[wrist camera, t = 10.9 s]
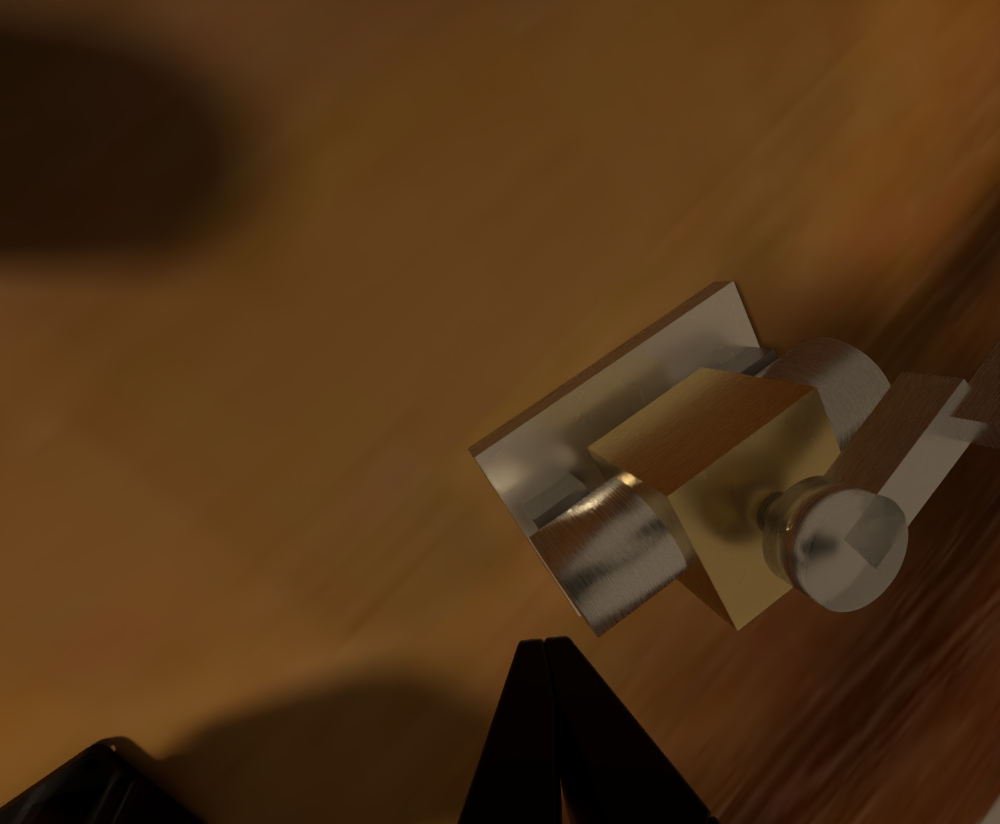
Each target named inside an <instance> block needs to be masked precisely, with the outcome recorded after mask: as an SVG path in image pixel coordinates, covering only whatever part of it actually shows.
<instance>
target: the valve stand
mask: <svg viewBox="0 0 1000 824" xmlns="http://www.w3.org/2000/svg"><path fill="white" fill-rule="evenodd" d="M890 387H891V386H890V384H889V382H888V380H887V378H886V376H885V375H884V373H883V372H882V370H881V369H880V368H879V367H878V366H877V365H876V364H875V363H874V362H873V361H872V360H871V359H870V358H869V357H868V356H867V355H866V354H864V353H863V352H861V351H860V350H859V349H857V348H855V347H854V346H852V345H850V344H848V343H846V342H843V341H840V340H838V339H834V338H830V337H812V338H808V339H806V340H804V341H802V342H801V343H799V344H798V345H797V346H795V347H794V348H792V349H791V350H790V351H788V352H787V353H785V354H784V355H783V356H781V357H780V358H778V359H777V356H776V354H775V351H774V349H768V348H760V346H759V344H758V341H757V339H756V336H755V334H754V331H753V329H752V326H751V324H750V321H749V319H748V316H747V314H746V311H745V309H744V306H743V304H742V301H741V298H740V296H739V293H738V291H737V288H736V286H735V283H734V281H725V282H714V283H712V284H711V285H709V286H708V287H706V288H705V289H703V290H702V291H700V292H699V293H698V294H696V295H695V296H693V297H692V298H690V299H689V300H687V301H686V302H684V303H683V304H681V305H680V306H678V307H677V308H675V309H674V310H672V311H671V312H669V313H668V314H667V315H665V316H664V317H662V318H661V319H659V320H658V321H656V322H655V323H653V324H652V325H650V326H649V327H647V328H646V329H644V330H643V331H641V332H640V333H639V334H637V335H636V336H634V337H633V338H631V339H630V340H628V341H627V342H625V343H624V344H622V345H621V346H619V347H618V348H616V349H615V350H613V351H612V352H610V353H609V354H608V355H606V356H605V357H603V358H602V359H600V360H599V361H597V362H596V363H594V364H593V365H591V366H590V367H588V368H587V369H585V370H584V371H582V372H581V373H580V374H578V375H577V376H575V377H574V378H572V379H571V380H569V381H568V382H566V383H565V384H563V385H562V386H560V387H559V388H557V389H556V390H554V391H553V392H551V393H550V394H549V395H547V396H546V397H544V398H543V399H541V400H540V401H538V402H537V403H535V404H534V405H532V406H531V407H529V408H528V409H526V410H525V411H523V412H522V413H521V414H519V415H518V416H516V417H515V418H513V419H512V420H510V421H509V422H507V423H506V424H504V425H503V426H501V427H500V428H498V429H497V430H495V431H494V432H492V433H491V434H490V435H488V436H487V437H485V438H484V439H482V440H481V441H479V442H478V443H476V444H475V445H473V446H472V447H470V448H469V449H468V450H469V452H470V453H471V455H472V456H473V458H474V459H475V461H476V462H477V464H478V465H479V467H480V468H481V470H482V471H483V473H484V474H485V476H486V477H487V479H488V480H489V482H490V483H491V485H492V486H493V488H494V489H495V491H496V492H497V494H498V495H499V497H500V499H501V500H502V502H503V503H504V505H505V506H506V508H507V509H508V511H509V512H510V514H511V515H512V517H513V518H514V520H515V521H516V523H517V524H518V526H519V527H520V529H521V530H522V532H523V533H524V535H525V536H526V538H527V539H528V541H529V542H530V544H531V545H532V547H533V548H534V550H535V551H536V553H537V554H538V556H539V557H540V559H541V561H542V562H543V564H544V565H545V567H546V568H547V570H548V571H549V573H550V574H551V576H552V577H553V579H554V580H555V582H556V583H557V585H558V586H559V588H560V589H561V591H562V592H563V594H564V595H565V597H566V598H567V600H568V601H569V603H570V604H571V606H572V607H573V608H574V610H575V611H576V612H577V614H578V615H579V617H580V616H582V617H583V618H584V620H585V621H586V622H587V624H588V625H589V627H590V628H591V629H592V631H593V632H594V633H595V635H596V636H597V637H598V638H599V637H600V636H602V635H603V634H604V633H606V632H607V631H608V630H610V629H611V628H612V627H613V626H615V625H616V624H617V623H619V622H620V621H621V620H623V619H624V618H625V617H627V616H628V615H629V614H631V613H632V612H633V611H635V610H636V609H637V608H638V607H640V606H641V605H642V604H644V603H645V602H646V601H648V600H649V599H650V598H652V597H653V596H654V595H656V594H657V593H658V592H659V591H661V590H662V589H663V588H665V587H666V586H667V585H669V584H670V583H671V582H673V581H674V580H675V579H677V580H678V581H679V582H680V583H682V584H683V585H684V586H685V587H686V588H688V589H689V590H690V591H691V592H692V593H693V594H695V595H696V596H697V597H698V598H699V599H700V600H702V601H703V602H704V603H705V604H706V605H708V606H709V607H710V608H711V609H712V610H713V611H715V612H716V613H717V614H718V615H719V616H720V617H722V618H723V619H724V620H725V621H726V622H728V623H729V624H730V625H731V626H732V627H733V628H735V629H736V630H737V631H738V630H740V629H741V628H742V627H743V626H745V625H746V624H747V623H748V622H750V621H751V620H752V619H753V618H755V617H756V616H757V615H758V614H760V613H761V612H762V611H764V610H765V609H766V608H767V607H769V606H770V605H771V604H772V603H774V602H775V601H776V600H777V599H779V598H780V597H781V596H782V595H784V594H785V593H786V592H788V591H789V590H790V589H791V588H793V586H791V585H790V584H788V583H786V582H785V581H783V580H782V579H780V578H779V577H777V576H776V575H775V574H774V573H773V572H771V570H770V569H769V567H768V566H767V564H766V562H765V559H764V555H763V550H762V538H763V531H764V527H765V524H766V520H767V518H768V516H769V513H770V512H771V510H772V508H773V506H774V505H775V503H776V502H777V500H778V499H779V498H780V497H781V496H782V495H783V494H784V493H785V492H786V491H787V490H788V489H789V488H790V487H791V486H793V485H794V484H796V483H797V482H799V481H801V480H803V479H805V478H809V477H812V476H824V475H825V473H826V472H827V471H828V469H829V468H830V467H831V465H832V464H833V463H834V461H835V460H836V459H837V457H838V456H839V455H840V453H841V452H842V451H843V449H844V448H845V447H846V445H847V444H848V443H849V441H850V440H851V439H852V437H853V436H854V435H855V433H856V432H857V431H858V429H859V428H860V427H861V425H862V424H863V423H864V421H865V420H866V419H867V417H868V416H869V415H870V413H871V412H872V411H873V409H874V408H875V407H876V405H877V404H878V403H879V401H880V400H881V399H882V397H883V396H884V395H885V393H886V392H887V391H888V389H889V388H890Z"/></svg>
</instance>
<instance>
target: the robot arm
mask: <svg viewBox="0 0 1000 824" xmlns="http://www.w3.org/2000/svg"><path fill="white" fill-rule="evenodd" d="M90 759H95V760H98V761H99V762H93V761H91V760H90ZM560 780H561V784H560ZM561 786H562V791H563V795H564V800H565V804H566V808H567V812H568V816H569V820H570V824H721V823H720V822H719V821H718V819H717V818H716V817H714V816H712V817H711V812H710V810H709V809H708V807H707V806H706V805H705V804H704V803H703V801H702V800H701V799H700V798H699V796H698V795H697V794H696V793H695V791H694V790H693V789H692V788H691V787H690V785H689V784H688V783H687V782H686V780H685V779H684V778H683V777H682V775H681V774H680V773H679V772H678V771H677V769H676V768H675V767H674V766H673V764H672V763H671V762H670V761H669V759H668V758H667V757H666V756H665V755H664V753H663V752H662V751H661V750H660V748H659V747H658V746H657V745H656V743H655V742H654V741H653V740H652V739H651V737H650V736H649V735H648V734H647V732H646V731H645V730H644V729H643V727H642V726H641V725H640V724H639V723H638V721H637V720H636V719H635V718H634V716H633V715H632V714H631V713H630V711H629V710H628V709H627V708H626V707H625V705H624V704H623V703H622V702H621V700H620V699H619V698H618V697H617V695H616V694H615V693H614V692H613V691H612V689H611V688H610V687H609V686H608V684H607V683H606V682H605V681H604V679H603V678H602V677H601V676H600V675H599V673H598V672H597V671H596V670H595V668H594V667H593V666H592V665H591V663H590V662H589V661H588V660H587V659H586V657H585V656H584V655H583V654H582V652H581V651H580V650H579V649H578V647H577V646H576V645H575V644H574V643H573V641H572V640H571V639H570V638H569V637H567V636H559V637H549V638H546V639H545V641H543V640H542V639H530V640H522V641H520V642H519V644H518V646H517V649H516V652H515V655H514V658H513V661H512V664H511V667H510V670H509V673H508V676H507V679H506V682H505V685H504V688H503V690H502V693H501V696H500V699H499V702H498V705H497V708H496V711H495V714H494V717H493V720H492V723H491V726H490V729H489V732H488V735H487V738H486V741H485V744H484V747H483V750H482V753H481V756H480V759H479V762H478V765H477V767H476V770H475V773H474V776H473V779H472V782H471V785H470V788H469V791H468V794H467V797H466V800H465V803H464V806H463V809H462V812H461V815H460V818H459V821H458V824H562V802H561ZM0 824H204V823H202V822H201V821H200V820H199V819H197V818H196V817H195V816H194V815H192V814H191V813H190V812H189V811H187V810H186V809H185V808H184V807H183V806H181V805H180V804H179V803H178V802H176V801H175V800H174V799H173V798H171V797H170V796H169V795H168V794H166V793H165V792H164V791H163V790H161V789H160V788H159V787H158V786H157V785H155V784H154V783H153V782H152V781H150V780H149V779H148V778H147V777H145V776H144V775H143V774H142V773H140V772H139V771H138V770H137V769H135V768H134V767H133V766H132V765H131V764H129V763H128V762H127V761H126V760H124V759H123V758H122V757H121V756H119V755H118V754H117V753H116V752H114V751H113V750H112V749H111V748H109V747H108V746H106V745H100V744H98V745H92V746H90V747H88V748H86V749H85V750H84V751H82V752H81V753H79V754H78V755H76V756H75V757H73V758H72V759H70V760H69V761H68V762H66V763H65V764H63V765H62V766H60V767H59V768H57V769H56V770H55V771H53V772H52V773H50V774H49V775H47V776H46V777H44V778H43V779H41V780H40V781H39V782H37V783H36V784H34V785H33V786H31V787H30V788H28V789H27V790H25V791H24V792H23V793H21V794H20V795H18V796H17V797H15V798H14V799H12V800H11V801H9V802H8V803H7V804H5V805H4V806H2V807H1V808H0Z"/></svg>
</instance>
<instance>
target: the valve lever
mask: <svg viewBox="0 0 1000 824" xmlns="http://www.w3.org/2000/svg"><path fill="white" fill-rule="evenodd" d="M970 443H973V444H977V445H982V446H986V447H991V448H995V449H1000V341H999V342H998V344H997V345H996V346H995V348H994V349H993V350H992V352H991V353H990V354H989V356H988V357H987V358H986V360H985V361H984V362H983V364H982V365H981V366H980V367H979V369H978V370H977V371H976V373H975V374H974V375H973V377H972V378H971V379H970V381H969V382H968V383H967V382H966V381H965V379H963V378H954V377H945V376H937V375H928V374H920V373H911V372H903V371H902V372H901V373H900V375H899V376H898V377H897V379H896V380H895V381H894V383H893V384H892V385H891V387H890V388H889V389H888V391H887V392H886V393H885V395H884V396H883V397H882V399H881V400H880V401H879V403H878V404H877V405H876V407H875V408H874V409H873V411H872V412H871V413H870V415H869V416H868V417H867V419H866V420H865V421H864V423H863V424H862V425H861V427H860V428H859V429H858V431H857V432H856V433H855V435H854V436H853V437H852V439H851V440H850V441H849V443H848V444H847V445H846V447H845V448H844V449H843V451H842V452H841V453H840V455H839V456H838V457H837V459H836V460H835V461H834V463H833V464H832V465H831V467H830V468H829V469H828V471H827V472H826V473H825V475H824V476H812V477H809V478H805V479H803V480H801V481H799V482H797V483H796V484H794V485H793V486H791V487H790V488H789V489H788V490H787V491H786V492H785V493H784V494H783V495H782V496H781V497H780V498H779V499H778V500H777V502H776V503H775V505H774V506H773V508H772V510H771V512H770V513H769V516H768V518H767V520H766V524H765V527H764V531H763V538H762V550H763V555H764V559H765V562H766V564H767V566H768V567H769V569H770V570H771V572H773V573H774V574H775V575H776V576H777V577H779V578H780V579H782V580H783V581H785V582H786V583H788V584H790V585H791V586H793V587H794V588H796V589H797V590H799V591H800V592H802V593H804V594H805V595H807V596H808V597H810V598H811V599H813V600H815V601H816V602H818V603H819V604H821V605H822V606H824V607H825V608H827V609H830V610H832V611H836V612H850V611H854V610H857V609H860V608H862V607H864V606H866V605H868V604H869V603H871V602H872V601H874V600H875V599H876V598H878V597H879V596H880V595H881V594H882V593H883V592H884V591H885V590H886V589H887V587H888V586H889V585H890V584H891V582H892V581H893V580H894V578H895V577H896V575H897V573H898V571H899V569H900V567H901V565H902V563H903V560H904V557H905V554H906V550H907V544H908V526H909V524H910V523H911V522H912V520H913V519H914V518H915V516H916V515H917V514H918V512H919V511H920V510H921V508H922V507H923V506H924V504H925V503H926V502H927V500H928V499H929V498H930V496H931V495H932V494H933V492H934V491H935V490H936V488H937V487H938V486H939V484H940V483H941V482H942V480H943V479H944V478H945V476H946V475H947V474H948V472H949V471H950V470H951V468H952V467H953V466H954V464H955V463H956V462H957V460H958V459H959V458H960V456H961V455H962V454H963V452H964V451H965V450H966V448H967V447H968V446H969V444H970Z"/></svg>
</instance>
